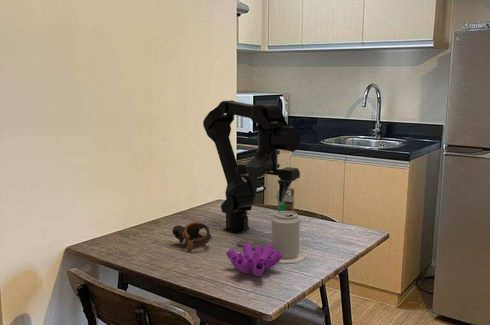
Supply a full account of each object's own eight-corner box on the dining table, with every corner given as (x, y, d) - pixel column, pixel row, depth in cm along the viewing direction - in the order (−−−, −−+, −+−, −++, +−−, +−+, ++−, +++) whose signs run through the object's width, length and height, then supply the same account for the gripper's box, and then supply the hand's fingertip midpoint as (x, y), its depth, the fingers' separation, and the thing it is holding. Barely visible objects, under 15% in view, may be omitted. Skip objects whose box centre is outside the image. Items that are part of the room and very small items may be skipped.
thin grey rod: (236, 245, 145) (236, 242, 145) (238, 244, 146) (238, 241, 146) (269, 253, 139) (269, 250, 139) (271, 252, 140) (271, 249, 139)
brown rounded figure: (213, 242, 150) (216, 223, 144) (203, 265, 142) (206, 247, 137) (176, 230, 151) (177, 211, 146) (164, 253, 144) (165, 234, 138)
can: (294, 261, 132) (295, 218, 130) (267, 257, 135) (268, 215, 132) (302, 252, 138) (303, 211, 136) (277, 248, 141) (277, 208, 139)
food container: (276, 214, 178) (277, 187, 176) (293, 214, 177) (294, 187, 175) (273, 224, 166) (274, 195, 164) (292, 225, 165) (292, 196, 163)
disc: (260, 258, 135) (260, 257, 135) (279, 248, 143) (279, 246, 143) (293, 266, 130) (293, 264, 130) (310, 255, 138) (310, 253, 138)
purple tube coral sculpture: (230, 291, 122) (213, 256, 125) (268, 273, 134) (251, 241, 136) (259, 275, 115) (240, 238, 118) (295, 257, 127) (278, 224, 129)
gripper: (225, 148, 142) (225, 200, 145) (281, 154, 132) (281, 210, 135) (247, 143, 152) (246, 193, 154) (301, 149, 141) (300, 201, 144)
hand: (267, 199), depth 147 cm, fingers open, 9 cm apart
